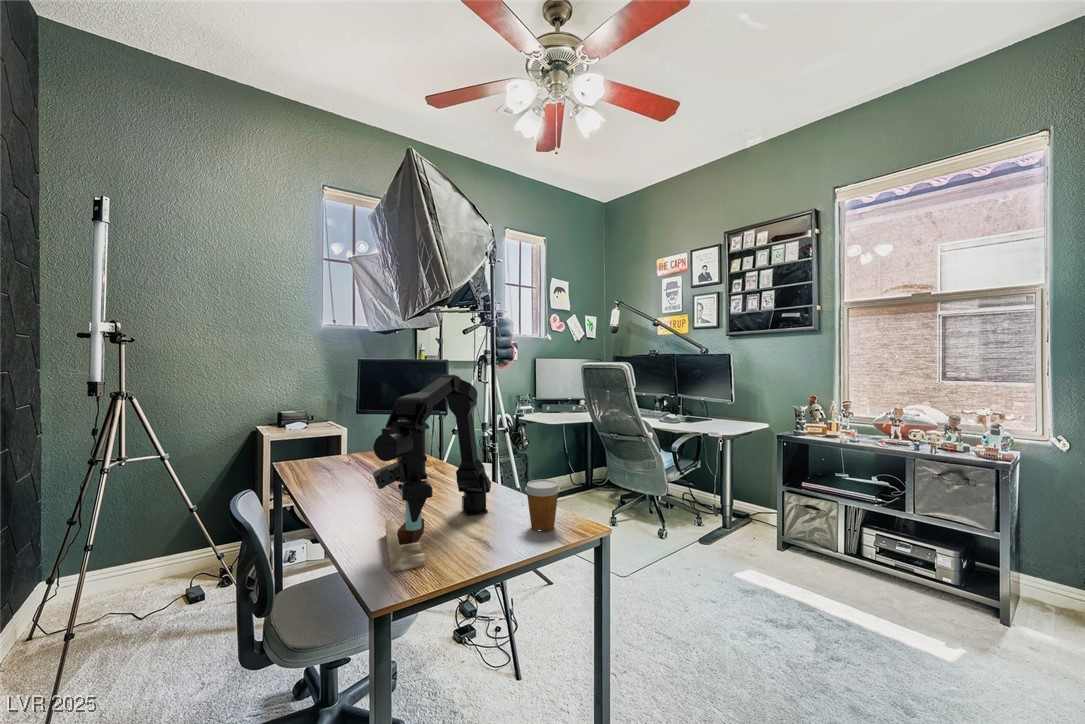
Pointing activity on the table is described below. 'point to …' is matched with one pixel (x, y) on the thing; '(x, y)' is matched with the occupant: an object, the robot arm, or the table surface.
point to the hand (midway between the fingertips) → (413, 518)
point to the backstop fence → (402, 551)
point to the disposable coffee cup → (542, 503)
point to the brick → (409, 534)
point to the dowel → (409, 524)
